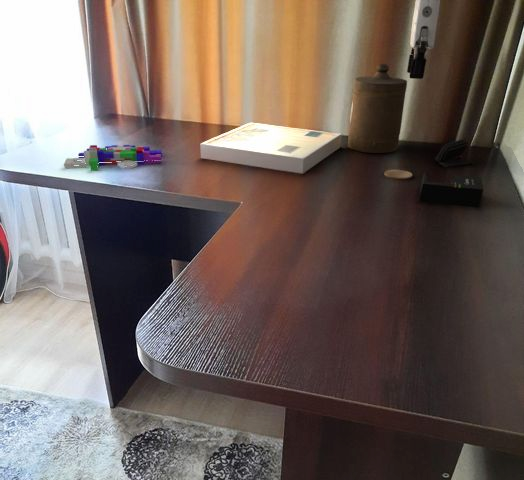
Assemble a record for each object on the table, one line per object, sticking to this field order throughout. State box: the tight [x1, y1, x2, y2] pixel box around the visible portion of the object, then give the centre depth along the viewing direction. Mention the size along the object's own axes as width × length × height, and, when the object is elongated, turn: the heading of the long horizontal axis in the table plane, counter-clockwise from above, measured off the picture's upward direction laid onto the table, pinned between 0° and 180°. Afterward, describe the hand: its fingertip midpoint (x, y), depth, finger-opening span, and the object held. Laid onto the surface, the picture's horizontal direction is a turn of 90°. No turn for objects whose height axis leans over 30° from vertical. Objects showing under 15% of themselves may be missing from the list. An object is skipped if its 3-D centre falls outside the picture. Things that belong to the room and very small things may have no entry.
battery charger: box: [419, 171, 484, 208], centre depth 115 cm, size 13×10×4 cm
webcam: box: [434, 139, 473, 168], centre depth 138 cm, size 9×6×6 cm
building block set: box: [63, 144, 163, 172], centre depth 138 cm, size 25×20×4 cm
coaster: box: [383, 169, 413, 180], centre depth 130 cm, size 7×7×1 cm
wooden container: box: [347, 63, 408, 154], centre depth 146 cm, size 15×15×22 cm
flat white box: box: [199, 122, 343, 175], centre depth 145 cm, size 30×4×30 cm
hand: (414, 75), depth 125 cm, fingers open, 9 cm apart
